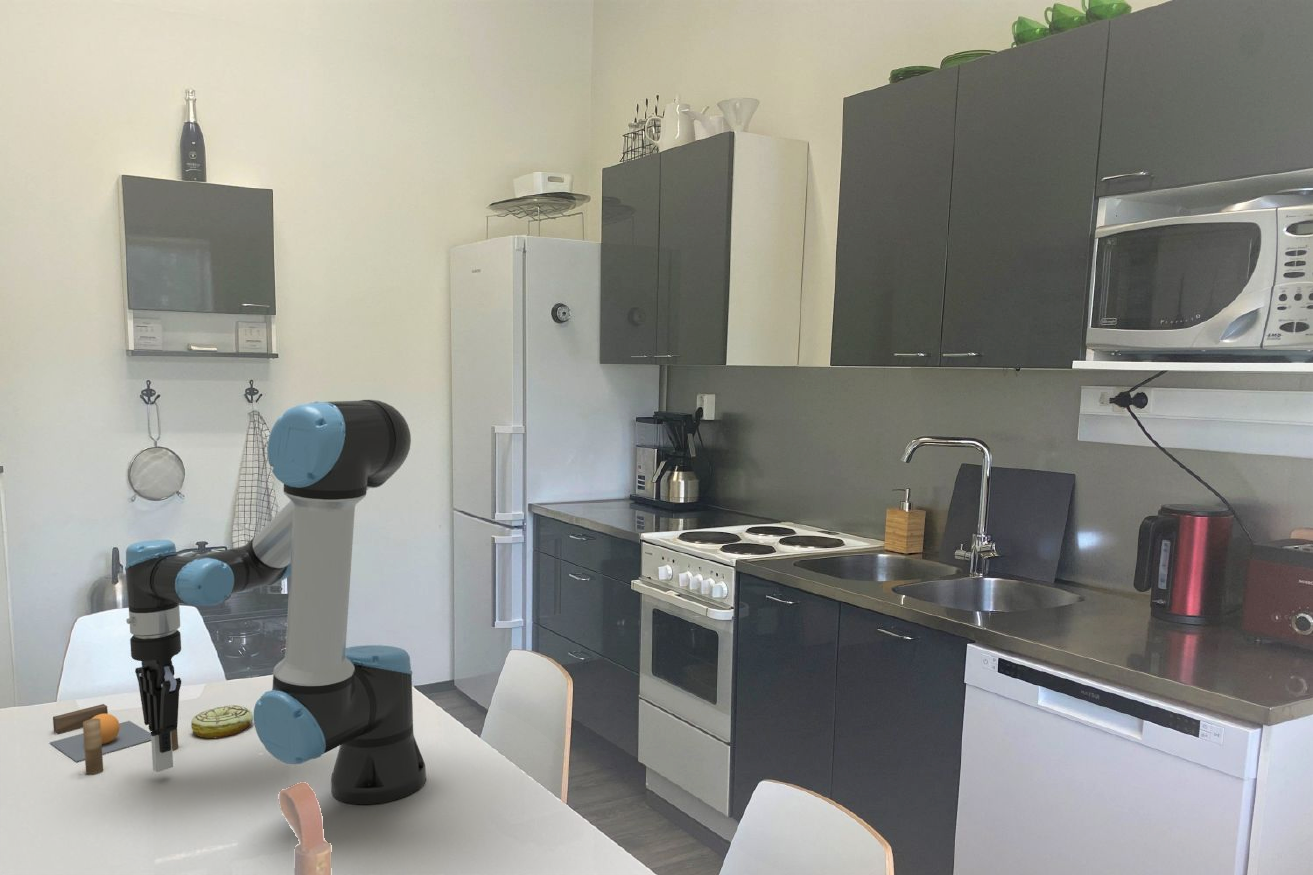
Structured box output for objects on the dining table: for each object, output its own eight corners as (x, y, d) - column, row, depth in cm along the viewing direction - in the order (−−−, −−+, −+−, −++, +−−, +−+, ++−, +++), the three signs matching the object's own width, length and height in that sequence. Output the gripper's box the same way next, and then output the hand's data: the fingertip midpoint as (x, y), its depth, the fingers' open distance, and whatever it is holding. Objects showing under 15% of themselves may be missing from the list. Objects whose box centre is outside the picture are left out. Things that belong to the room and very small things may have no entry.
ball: (109, 717, 183) (118, 744, 181) (77, 725, 178) (85, 753, 176) (118, 705, 180) (127, 732, 178) (86, 713, 175) (95, 741, 173)
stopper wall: (108, 720, 190) (107, 706, 190) (57, 734, 183) (56, 719, 183) (104, 718, 191) (103, 703, 191) (53, 731, 185) (52, 716, 184)
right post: (180, 748, 175) (177, 700, 175) (165, 752, 173) (163, 704, 173) (174, 744, 177) (172, 697, 176) (160, 749, 175) (157, 701, 174)
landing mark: (158, 738, 180) (158, 737, 180) (76, 762, 170) (76, 761, 170) (129, 721, 189) (129, 720, 189) (49, 743, 179) (49, 742, 179)
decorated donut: (264, 725, 187) (263, 707, 186) (215, 744, 177) (214, 725, 177) (229, 716, 192) (229, 698, 191) (180, 735, 182) (179, 715, 182)
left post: (105, 770, 166) (102, 720, 165) (89, 775, 164) (85, 725, 163) (100, 767, 167) (96, 717, 167) (83, 772, 165) (80, 721, 165)
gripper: (116, 631, 161) (124, 765, 163) (147, 644, 153) (155, 786, 155) (162, 621, 167) (170, 751, 169) (195, 634, 159) (202, 771, 160)
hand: (163, 768), depth 162 cm, fingers closed
